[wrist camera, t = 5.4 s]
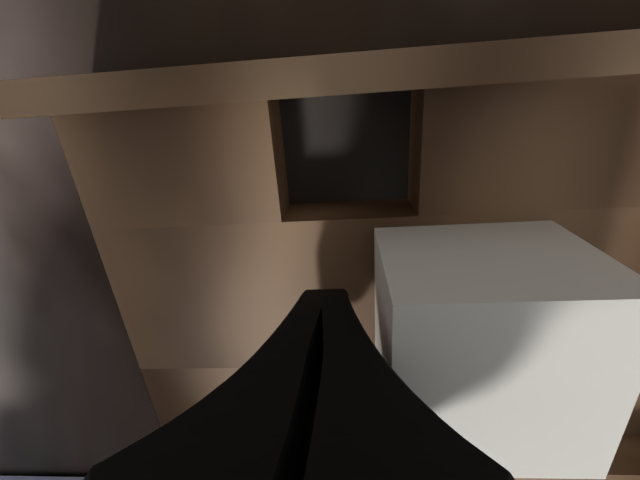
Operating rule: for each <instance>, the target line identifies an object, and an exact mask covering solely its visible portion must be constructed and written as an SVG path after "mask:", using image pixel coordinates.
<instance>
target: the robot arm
mask: <svg viewBox="0 0 640 480" xmlns="http://www.w3.org/2000/svg"><path fill="white" fill-rule="evenodd" d="M0 480H515V479H514V477H513V476H512V474H511V473H510V472H509V471H508V470H507V469H505V468H504V467H503V466H501V465H500V464H498V463H497V462H496V461H494V460H493V459H492V458H490V457H489V456H488V455H486V454H485V453H484V452H482V451H481V450H480V449H478V448H477V447H475V446H474V445H473V444H471V443H470V442H469V441H467V440H466V439H465V438H463V437H462V436H461V435H460V434H459V433H457V432H456V431H455V430H454V429H453V428H452V427H450V426H449V425H448V424H447V423H446V422H445V421H443V420H442V419H441V418H440V417H439V416H438V415H437V414H436V413H435V412H434V411H433V410H432V409H431V408H430V407H428V406H427V405H426V404H425V403H424V402H423V401H422V400H421V399H420V398H419V397H418V396H417V395H416V394H415V393H414V392H413V391H412V390H411V389H410V388H409V387H408V386H407V385H406V384H405V383H404V381H403V380H402V379H401V378H400V377H399V376H398V375H397V374H396V372H395V371H394V370H393V369H392V368H391V366H390V365H389V364H388V363H387V361H386V360H385V359H384V358H383V356H382V355H381V354H380V352H379V351H378V349H377V348H376V347H375V345H374V344H373V342H372V341H371V339H370V338H369V336H368V335H367V333H366V331H365V330H364V328H363V326H362V324H361V323H360V321H359V319H358V317H357V315H356V313H355V311H354V309H353V307H352V304H351V302H350V299H349V296H348V292H347V291H346V290H345V289H312V290H305V291H304V292H303V293H302V294H301V296H300V298H299V299H298V301H297V302H296V304H295V305H294V306H293V308H292V309H291V311H290V312H289V313H288V315H287V316H286V317H285V319H284V320H283V321H282V322H281V324H280V325H279V326H278V327H277V329H276V330H275V331H274V332H273V334H272V335H271V336H270V337H269V338H268V339H267V340H266V341H265V343H264V344H263V345H262V346H261V347H260V348H259V349H258V350H257V351H256V352H255V354H254V355H253V356H252V357H251V358H250V359H249V360H248V361H247V362H246V363H245V364H243V365H242V366H241V367H240V368H239V369H238V370H237V371H236V372H235V373H234V374H233V375H232V376H230V377H229V378H228V379H227V380H226V381H224V382H223V383H222V384H220V385H219V386H218V387H217V388H215V389H214V390H213V391H212V392H210V393H209V394H208V395H206V396H205V397H204V398H203V399H201V400H200V401H199V402H197V403H196V404H195V405H193V406H192V407H190V408H189V409H187V410H186V411H184V412H183V413H182V414H180V415H179V416H177V417H176V418H174V419H173V420H171V421H170V422H168V423H166V424H165V425H163V426H162V427H160V428H159V429H157V430H155V431H154V432H152V433H151V434H149V435H147V436H146V437H144V438H142V439H140V440H139V441H137V442H135V443H133V444H132V445H130V446H128V447H126V448H125V449H123V450H121V451H120V452H118V453H116V454H114V455H113V456H111V457H109V458H107V459H106V460H104V461H102V462H100V463H98V464H96V465H94V466H93V467H92V468H91V470H90V471H89V472H88V474H87V475H86V476H85V477H59V476H0Z"/></svg>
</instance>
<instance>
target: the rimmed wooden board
mask: <svg viewBox="0 0 640 480" xmlns="http://www.w3.org/2000/svg"><path fill="white" fill-rule="evenodd" d="M40 116H51V118H52V120H53V123H54V126H55V129H56V132H57V135H58V137H59V140H60V143H61V146H62V149H63V152H64V155H65V157H66V160H67V163H68V166H69V169H70V172H71V174H72V177H73V180H74V183H75V186H76V189H77V191H78V194H79V197H80V200H81V203H82V206H83V208H84V211H85V214H86V217H87V220H88V223H89V225H90V228H91V231H92V234H93V237H94V240H95V243H96V245H97V248H98V251H99V254H100V257H101V260H102V262H103V265H104V268H105V271H106V274H107V277H108V279H109V282H110V285H111V288H112V291H113V294H114V296H115V299H116V302H117V305H118V308H119V311H120V314H121V316H122V319H123V322H124V325H125V328H126V331H127V333H128V336H129V339H130V342H131V345H132V348H133V350H134V353H135V356H136V359H137V362H138V365H139V367H140V370H141V373H142V376H143V379H144V382H145V384H146V387H147V390H148V393H149V396H150V399H151V402H152V404H153V407H154V410H155V413H156V416H157V419H158V421H159V424H160V427H162V426H163V425H165V424H166V423H168V422H170V421H171V420H173V419H174V418H176V417H177V416H179V415H180V414H182V413H183V412H184V411H186V410H187V409H189V408H190V407H192V406H193V405H195V404H196V403H197V402H199V401H200V400H201V399H203V398H204V397H205V396H206V395H208V394H209V393H210V392H212V391H213V390H214V389H215V388H217V387H218V386H219V385H220V384H222V383H223V382H224V381H226V380H227V379H228V378H229V377H230V376H232V375H233V374H234V373H235V372H236V371H237V370H238V369H239V368H240V367H241V366H242V365H243V364H245V363H246V362H247V361H248V360H249V359H250V358H251V357H252V356H253V355H254V354H255V352H256V351H257V350H258V349H259V348H260V347H261V346H262V345H263V344H264V343H265V341H266V340H267V339H268V338H269V337H270V336H271V335H272V334H273V332H274V331H275V330H276V329H277V327H278V326H279V325H280V324H281V322H282V321H283V320H284V319H285V317H286V316H287V315H288V313H289V312H290V311H291V309H292V308H293V306H294V305H295V304H296V302H297V301H298V299H299V298H300V296H301V294H302V293H303V292H304V291H305V290H312V289H345V290H346V291H347V292H348V296H349V299H350V302H351V304H352V307H353V309H354V311H355V313H356V315H357V317H358V319H359V321H360V323H361V324H362V326H363V328H364V330H365V331H366V333H367V335H368V336H369V338H370V339H371V341H372V342H373V344H374V345H375V255H374V228H383V227H407V226H430V225H454V224H477V223H501V222H524V221H547V220H553V221H554V222H556V223H557V224H559V225H561V226H562V227H564V228H565V229H567V230H569V231H570V232H572V233H573V234H575V235H577V236H578V237H580V238H581V239H583V240H585V241H586V242H588V243H590V244H591V245H593V246H594V247H596V248H598V249H599V250H601V251H602V252H604V253H606V254H607V255H609V256H610V257H612V258H614V259H615V260H617V261H618V262H620V263H622V264H623V265H625V266H627V267H628V268H630V269H631V270H633V271H635V272H636V273H638V274H639V275H640V29H630V30H618V31H605V32H593V33H581V34H568V35H556V36H544V37H531V38H519V39H507V40H494V41H482V42H470V43H457V44H445V45H432V46H420V47H408V48H395V49H383V50H371V51H358V52H346V53H334V54H321V55H309V56H297V57H284V58H272V59H259V60H247V61H235V62H222V63H210V64H198V65H185V66H173V67H161V68H148V69H136V70H124V71H111V72H99V73H86V74H74V75H62V76H49V77H37V78H25V79H12V80H0V118H1V119H12V118H26V117H40ZM514 479H515V480H640V393H639V396H638V398H637V401H636V403H635V406H634V408H633V411H632V413H631V416H630V418H629V421H628V424H627V426H626V429H625V431H624V434H623V436H622V439H621V441H620V444H619V446H618V449H617V451H616V454H615V456H614V459H613V461H612V464H611V466H610V469H609V471H608V474H607V476H606V479H547V478H514Z"/></svg>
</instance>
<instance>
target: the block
mask: <svg viewBox="0 0 640 480" xmlns="http://www.w3.org/2000/svg"><path fill="white" fill-rule="evenodd" d="M374 255H375V347H376V348H377V349H378V351H379V352H380V354H381V355H382V356H383V358H384V359H385V360H386V361H387V363H388V364H389V365H390V366H391V368H392V369H393V370H394V371H395V372H396V374H397V375H398V376H399V377H400V378H401V379H402V380H403V381H404V383H405V384H406V385H407V386H408V387H409V388H410V389H411V390H412V391H413V392H414V393H415V394H416V395H417V396H418V397H419V398H420V399H421V400H422V401H423V402H424V403H425V404H426V405H427V406H428V407H430V408H431V409H432V410H433V411H434V412H435V413H436V414H437V415H438V416H439V417H440V418H441V419H442V420H443V421H445V422H446V423H447V424H448V425H449V426H450V427H452V428H453V429H454V430H455V431H456V432H457V433H459V434H460V435H461V436H462V437H463V438H465V439H466V440H467V441H469V442H470V443H471V444H473V445H474V446H475V447H477V448H478V449H480V450H481V451H482V452H484V453H485V454H486V455H488V456H489V457H490V458H492V459H493V460H494V461H496V462H497V463H498V464H500V465H501V466H503V467H504V468H505V469H507V470H508V471H509V472H510V473H511V474H512V476H513V477H514V478H547V479H606V476H607V474H608V471H609V469H610V466H611V464H612V461H613V459H614V456H615V454H616V451H617V449H618V446H619V444H620V441H621V439H622V436H623V434H624V431H625V429H626V426H627V424H628V421H629V418H630V416H631V413H632V411H633V408H634V406H635V403H636V401H637V398H638V396H639V393H640V275H639V274H638V273H636V272H635V271H633V270H631V269H630V268H628V267H627V266H625V265H623V264H622V263H620V262H618V261H617V260H615V259H614V258H612V257H610V256H609V255H607V254H606V253H604V252H602V251H601V250H599V249H598V248H596V247H594V246H593V245H591V244H590V243H588V242H586V241H585V240H583V239H581V238H580V237H578V236H577V235H575V234H573V233H572V232H570V231H569V230H567V229H565V228H564V227H562V226H561V225H559V224H557V223H556V222H554V221H553V220H547V221H524V222H501V223H477V224H454V225H430V226H407V227H383V228H374Z"/></svg>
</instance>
